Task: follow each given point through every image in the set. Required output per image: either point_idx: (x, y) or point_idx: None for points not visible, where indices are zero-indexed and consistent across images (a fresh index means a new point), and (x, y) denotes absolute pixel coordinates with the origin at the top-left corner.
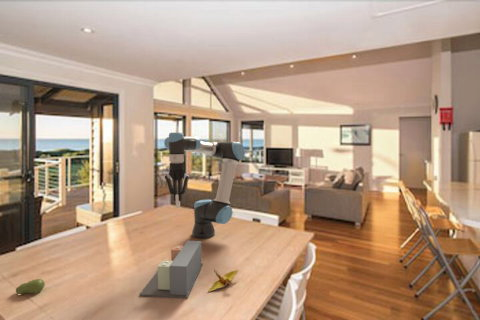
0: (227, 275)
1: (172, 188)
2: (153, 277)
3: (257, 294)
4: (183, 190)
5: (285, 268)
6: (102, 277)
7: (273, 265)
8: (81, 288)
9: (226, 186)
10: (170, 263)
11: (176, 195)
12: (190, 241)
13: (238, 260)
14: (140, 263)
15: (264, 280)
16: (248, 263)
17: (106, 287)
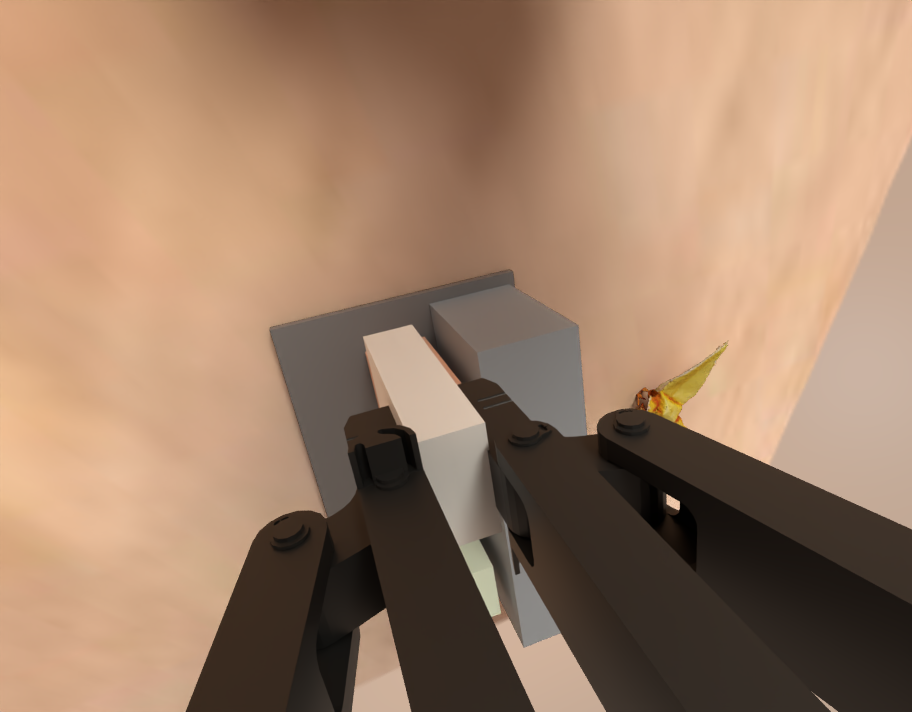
0: (676, 384)
1: (314, 647)
2: (325, 490)
3: (766, 413)
4: (695, 562)
5: (891, 181)
6: (21, 581)
7: (848, 165)
8: (24, 677)
9: None
10: (490, 590)
11: (457, 541)
12: (504, 359)
13: (687, 155)
14: (101, 381)
15: (796, 316)
16: (738, 178)
17: (146, 621)
